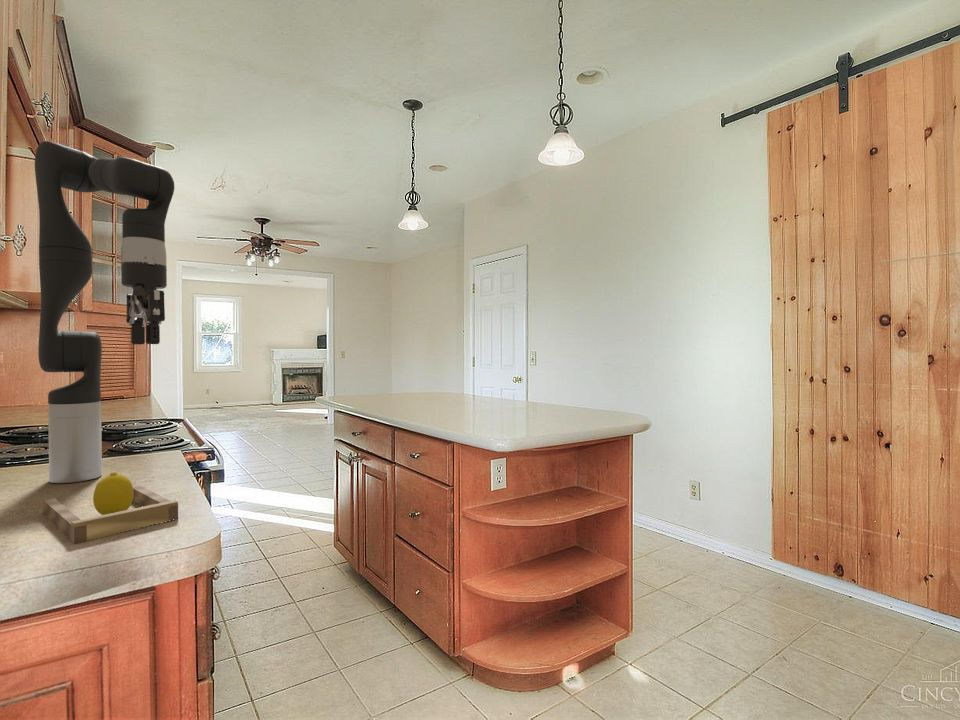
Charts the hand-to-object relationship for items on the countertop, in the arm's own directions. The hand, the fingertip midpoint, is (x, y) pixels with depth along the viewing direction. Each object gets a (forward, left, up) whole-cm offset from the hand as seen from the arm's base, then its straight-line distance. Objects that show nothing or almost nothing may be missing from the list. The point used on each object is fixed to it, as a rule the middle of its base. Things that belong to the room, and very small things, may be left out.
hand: (145, 344), depth 100 cm
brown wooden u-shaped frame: (+11, -9, -30) cm, 33 cm away
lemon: (+14, -9, -30) cm, 34 cm away
